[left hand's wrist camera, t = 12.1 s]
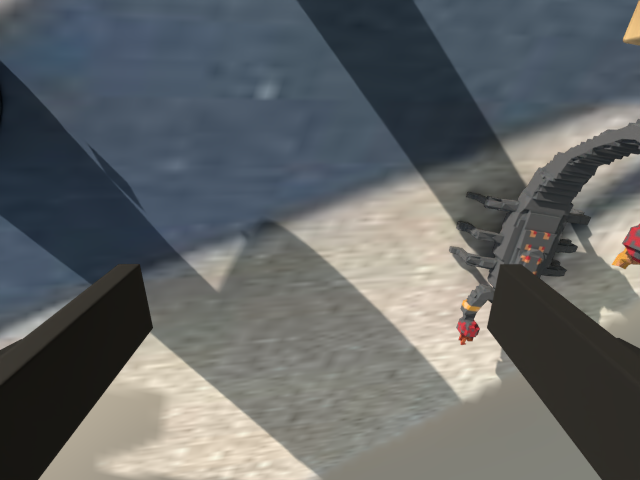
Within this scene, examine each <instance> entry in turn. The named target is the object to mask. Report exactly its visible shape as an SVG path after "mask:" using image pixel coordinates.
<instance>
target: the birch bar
mask: <svg viewBox="0 0 640 480" xmlns="http://www.w3.org/2000/svg"><path fill="white" fill-rule="evenodd" d="M623 42H625V43H629V44H635V45H640V0H639V1H638V4H637V6H636V9H635V11H634V14H633V16H632V18H631V21H630V23H629V26H628V28H627V31H626V33H625V35H624V38H623Z"/></svg>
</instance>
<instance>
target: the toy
mask: <svg viewBox="0 0 640 480" xmlns="http://www.w3.org/2000/svg"><path fill="white" fill-rule="evenodd" d="M631 153H632V154H640V119H638V120H637V122H636V123H629V124H628V126H626V127H624V128H621V129H618V130H606V131H605V132H603V133H601V134H600V135H599V136H594V137H593V140H592V139H587V142H581V144H580V145H577V146H576V147H574V148H570V149H569V150H568V151H567V152H565V153H560V152H558V154H557V155H555V156H554V159H553V161H550V163H547V165H546V166H545V167H543V168H538V170H537V171H536V173H535V174H534V176H533V178H532V179H531V181H530V183H529V184H528V186H527V187H526V188H525V189H524V190H523V191H522V193H521V194H520V196H519V198H518V200H508V199H499V198H495V197H490V196H487V197H485V196H483V195H481V194H477V193H471V192H468V193H467V196H466V197H468V198H471V199H474V200H477V201H479V202H481V203H483V204H485V205H484V207H486V208H491V209H497V210H500V211H509V213H507V214H506V217H505V219H504V221H503V224H502V230H501V232H500V233H499V234H498V233H495V232H490V231H485V230H481V229H476V228H475V227H474V226H473V225H472V224H470V223H467V222H461V221H458V224H457V227H456V228H457V229H458V230H461V231H465V232H468V233H470V234H471V235H472V236H474V237H475V238H477V239H480V240H486V241H492V242H496V243H495V245H494V248H493V251H492V252H493V253H494V254H495V256H494V258H489V257H482V256H479V255H474V254H470V253H467V252H466V251H465V250H464V249H463V248H458V247H452V246H450V249H449V251H450V252H451V253H455V254H458V255H459V256H460V257H461V258H462V259H463V260H464V261H465V262H466V264H467V265H471V266H476V267H481V268H486V269H490V270H489V272H490V273H489V276H488V282H489V283H490V284H491V285H492V286H493V288H492V287H491V286H487V285H481V284H479V286H476V289H475V290H472V292H471V294H470V296H468V298H467V299H466V301H465V300H463V303H462V306H461V310H462V312H463V317H462V318H461V319H459V322H458V324H457V327H456V328H457V329H458V331H459V332H460V337H459V340H461V345H464V344H465V341H466V340H467V341H473V337H476V335H478V332H479V330H480V328H479V327H478V325H477V323H476V322H475V321H474V318H475V315H476V313H477V312H478V310H479V309H480V308H481V307H482V306H483V305H484V304H485V303H486V301H487V300H488V301H490V302H491V303H492V301H493V297H494V292H495V287H496V282H497V277H498V272H499V268H500V264H522V265H523V266H524V267H526V268H527V269H528V270H529V271H531V272H532V273H533V274H535V275H536V276H537V277H538V278H540V276H541V275H545V276H564V274H565V272H566V271H567V270H566V269H564V268H563V267H561V266H560V262H559V261H554V260H552V259H553V256H554V254H555V252H557V253H559V252H565V253H572V252H576V250H577V248H578V246H576V245H574V244H572V243H571V242H572V241H571V240H569V239H566V238H561V236H562V232H563V229H564V227H565V225H566V222H570V223H577V224H584V225H588V223H589V221H590V219H591V217H589V216H586V215H584V213H585V212H582V211H579V210H573V209H572V207H573V204H572V203H571V202H572V200H573V199H574V197H576V196H577V194H578V192H580V191H581V189H582V186H583V185H584V184H586V183H587V182H588V180H589V179H590V178H591V177H592V175H593V176H594V175H595V172H596V170H597V168H598V166H600V165H603V164H608V165H610V163H611V162H614V160H615V159H622V158H623V156H626V157H628V156H629V155H630V154H631ZM622 244H623V245H624V246H625V247H626V248H625V250H624V251H623V252H622V253H620V254H619V255H618V256H617V257H616V259H615V260H614V262H613V264H612V265H616V266H620V267H622V268H624V269H626V267H627V266H628V265H630V264H639V265H640V224H639V225H638V226H634V227H631V228H630V231H629V233H628V234H627V236H626V238H625V239H624V241H623V243H622Z"/></svg>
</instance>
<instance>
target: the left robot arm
mask: <svg viewBox="0 0 640 480" xmlns="http://www.w3.org/2000/svg"><path fill="white" fill-rule="evenodd" d="M1 107H2V105H1V94H0V118H1ZM152 329H153V325H152V321H151V316H150V311H149V306H148V301H147V297H146V292H145V287H144V282H143V277H142V273H141V268H140V264H118V265H117V266H116V267H114V268H113V269H112V270H111V271H109V272H108V273H107V274H105V275H104V276H103V277H102V278H100V279H99V280H98V281H97V282H95V283H94V284H93V285H91V286H90V287H89V288H88V289H86V290H85V291H84V292H82V293H81V294H80V295H79V296H77V297H76V298H75V299H73V300H72V301H71V302H70V303H68V304H67V305H66V306H64V307H63V308H62V309H61V310H59V311H58V312H57V313H55V314H54V315H53V316H52V317H50V318H49V319H48V320H46V321H45V322H44V323H43V324H41V325H40V326H39V327H38V328H36V329H35V330H34V331H32V332H31V333H30V334H29V335H27V336H26V337H25V338H23V339H21V340H19V341H17V342H15V343H13V344H11V345H9V346H7V347H5V348H3V349H1V350H0V480H38V479H39V478H40V476H41V475H42V474H43V472H44V471H45V470H46V469H47V467H48V466H49V464H50V463H51V462H52V461H53V459H54V458H55V457H56V455H57V454H58V453H59V451H60V450H61V449H62V447H63V446H64V445H65V443H66V442H67V441H68V439H69V438H70V437H71V435H72V434H73V433H74V432H75V430H76V429H77V428H78V426H79V425H80V424H81V422H82V421H83V419H84V418H85V417H86V416H87V414H88V413H89V412H90V410H91V409H92V408H93V406H94V405H95V404H96V402H97V401H98V400H99V399H100V397H101V396H102V395H103V393H104V392H105V391H106V389H107V388H108V387H109V385H110V384H111V383H112V381H113V380H114V379H115V377H116V376H117V375H118V373H119V372H120V371H121V369H122V368H123V367H124V365H125V364H126V363H127V362H128V360H129V359H130V358H131V356H132V355H133V354H134V352H135V351H136V350H137V348H138V347H139V346H140V344H141V343H142V342H143V340H144V339H145V338H146V336H147V335H148V334H149V332H150V331H151V330H152ZM487 329H488V330H489V331H490V332H491V334H492V335H493V336H494V338H495V339H496V340H497V342H498V343H499V344H500V346H501V347H502V348H503V350H504V351H505V352H506V354H507V355H508V356H509V358H510V359H511V360H512V362H513V363H514V364H515V365H516V367H517V368H518V369H519V371H520V372H521V373H522V375H523V376H524V377H525V379H526V380H527V381H528V383H529V384H530V385H531V387H532V388H533V389H534V391H535V392H536V393H537V395H538V396H539V397H540V399H541V400H542V401H543V402H544V404H545V405H546V406H547V408H548V409H549V410H550V412H551V413H552V414H553V416H554V417H555V418H556V420H557V421H558V422H559V424H560V425H561V426H562V428H563V429H564V430H565V431H566V433H567V434H568V436H569V437H570V438H571V439H572V441H573V442H574V443H575V445H576V446H577V447H578V449H579V450H580V451H581V453H582V454H583V455H584V457H585V458H586V459H587V461H588V462H589V463H590V465H591V466H592V467H593V468H594V470H595V471H596V472H597V474H598V475H599V476H600V478H601V479H602V480H640V348H638V347H636V346H634V345H632V344H630V343H628V342H626V341H624V340H622V339H620V338H615V337H614V336H613V335H611V334H610V333H609V332H608V331H606V330H605V329H604V328H602V327H601V326H600V325H599V324H597V323H596V322H595V321H594V320H592V319H591V318H590V317H588V316H587V315H586V314H585V313H583V312H582V311H581V310H579V309H578V308H577V307H576V306H574V305H573V304H572V303H570V302H569V301H568V300H567V299H565V298H564V297H563V296H561V295H560V294H559V293H558V292H556V291H555V290H554V289H552V288H551V287H550V286H549V285H547V284H546V283H545V282H543V281H542V280H541V279H540V278H538V277H537V276H536V275H535V274H533V273H532V272H531V271H529V270H528V269H527V268H526V267H524V266H523V265H522V264H500V268H499V272H498V277H497V282H496V287H495V292H494V297H493V301H492V306H491V311H490V316H489V321H488V325H487Z"/></svg>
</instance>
